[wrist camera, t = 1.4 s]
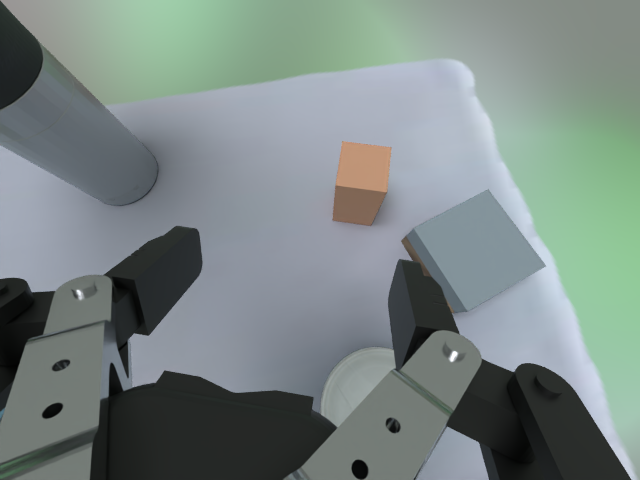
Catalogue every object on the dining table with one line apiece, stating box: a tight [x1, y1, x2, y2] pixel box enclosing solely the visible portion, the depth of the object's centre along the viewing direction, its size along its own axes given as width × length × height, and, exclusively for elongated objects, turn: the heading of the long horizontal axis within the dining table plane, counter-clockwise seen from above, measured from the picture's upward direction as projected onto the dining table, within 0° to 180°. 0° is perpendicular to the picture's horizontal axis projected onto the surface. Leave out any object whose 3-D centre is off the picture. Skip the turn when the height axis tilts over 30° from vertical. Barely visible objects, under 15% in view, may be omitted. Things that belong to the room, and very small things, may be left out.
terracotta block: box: [333, 141, 391, 226], centre depth 34 cm, size 5×5×10 cm
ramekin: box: [320, 347, 396, 427], centre depth 30 cm, size 11×11×5 cm
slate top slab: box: [406, 190, 546, 313], centre depth 33 cm, size 10×10×3 cm
